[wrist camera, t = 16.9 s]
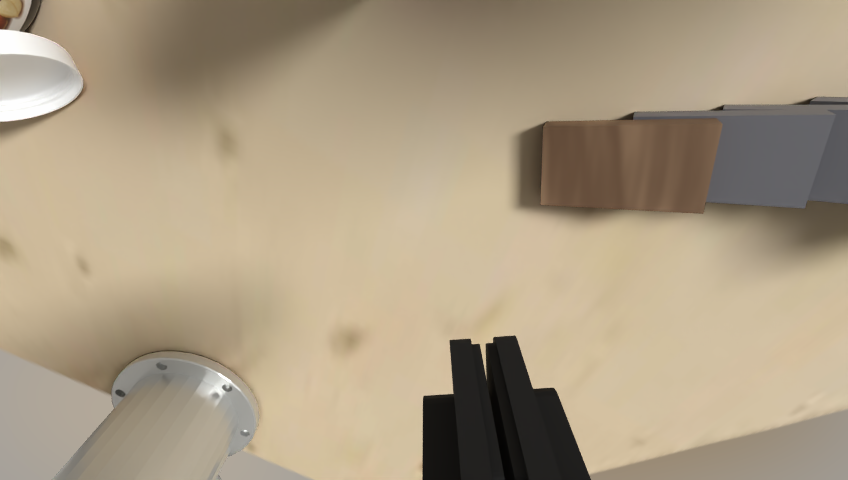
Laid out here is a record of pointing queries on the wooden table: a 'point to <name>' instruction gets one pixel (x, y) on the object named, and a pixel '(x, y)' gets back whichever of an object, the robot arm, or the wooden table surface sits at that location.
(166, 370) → the robot arm
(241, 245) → the wooden table surface
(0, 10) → the spread jar
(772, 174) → the domino
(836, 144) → the domino
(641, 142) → the domino
